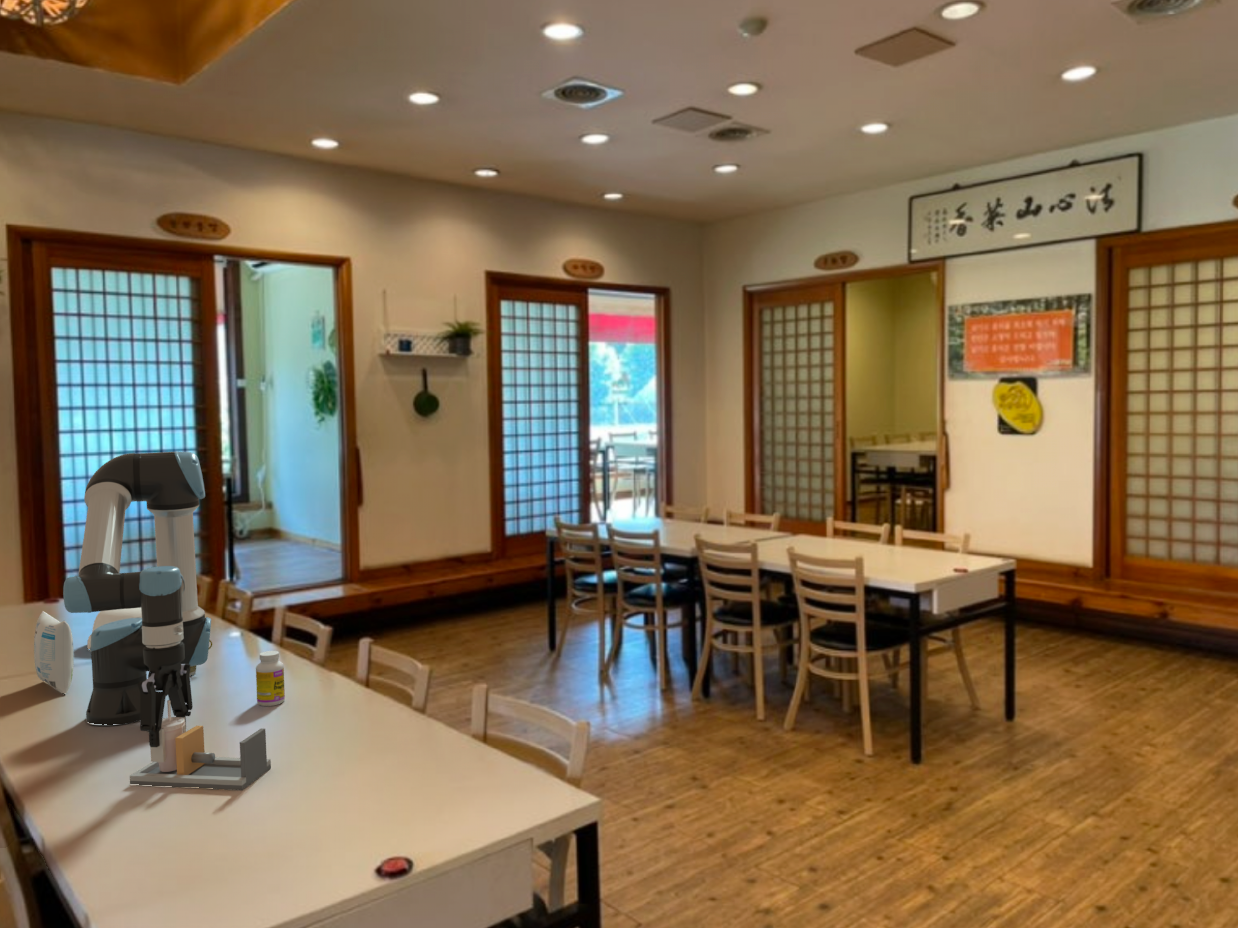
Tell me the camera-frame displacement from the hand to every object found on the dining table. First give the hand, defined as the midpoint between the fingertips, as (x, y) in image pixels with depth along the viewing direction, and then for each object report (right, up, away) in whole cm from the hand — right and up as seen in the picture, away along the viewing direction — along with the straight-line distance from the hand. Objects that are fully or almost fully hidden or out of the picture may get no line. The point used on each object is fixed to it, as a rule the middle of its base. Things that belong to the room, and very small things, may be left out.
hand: (169, 754), depth 188 cm
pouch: (-61, -2, +62) cm, 87 cm away
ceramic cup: (-30, 0, +73) cm, 79 cm away
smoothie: (0, -3, 0) cm, 3 cm away
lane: (+7, -4, -1) cm, 8 cm away
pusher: (+7, -3, -1) cm, 7 cm away
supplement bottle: (+4, -2, +46) cm, 46 cm away
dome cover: (-64, +1, +111) cm, 128 cm away
